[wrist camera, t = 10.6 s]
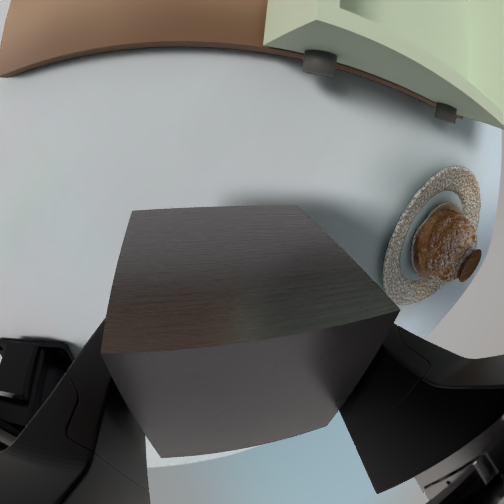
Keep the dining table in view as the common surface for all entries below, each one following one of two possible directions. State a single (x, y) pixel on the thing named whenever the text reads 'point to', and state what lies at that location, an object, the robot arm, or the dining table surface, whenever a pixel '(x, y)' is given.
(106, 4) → the track
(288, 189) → the dining table surface
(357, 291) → the block
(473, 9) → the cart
